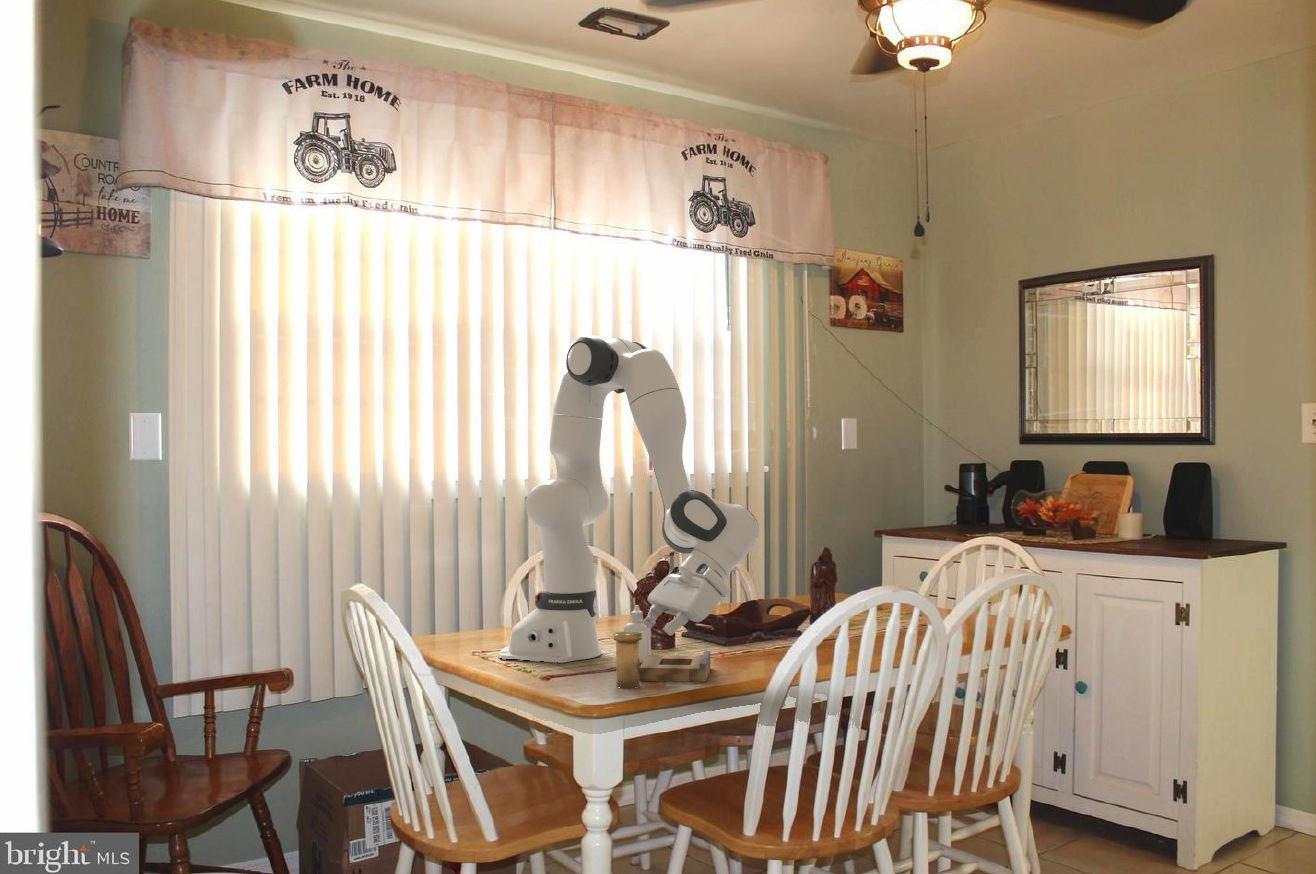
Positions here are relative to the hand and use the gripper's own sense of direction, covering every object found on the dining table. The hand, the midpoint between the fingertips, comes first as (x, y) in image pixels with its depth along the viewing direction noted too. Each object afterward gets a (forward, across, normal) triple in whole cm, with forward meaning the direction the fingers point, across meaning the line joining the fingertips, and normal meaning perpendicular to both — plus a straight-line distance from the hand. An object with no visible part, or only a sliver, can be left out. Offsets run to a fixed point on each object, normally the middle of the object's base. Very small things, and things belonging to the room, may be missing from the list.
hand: (656, 629), depth 199 cm
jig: (+2, -6, +12) cm, 14 cm away
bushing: (+12, 0, +3) cm, 12 cm away
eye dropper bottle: (+4, -21, +11) cm, 24 cm away
